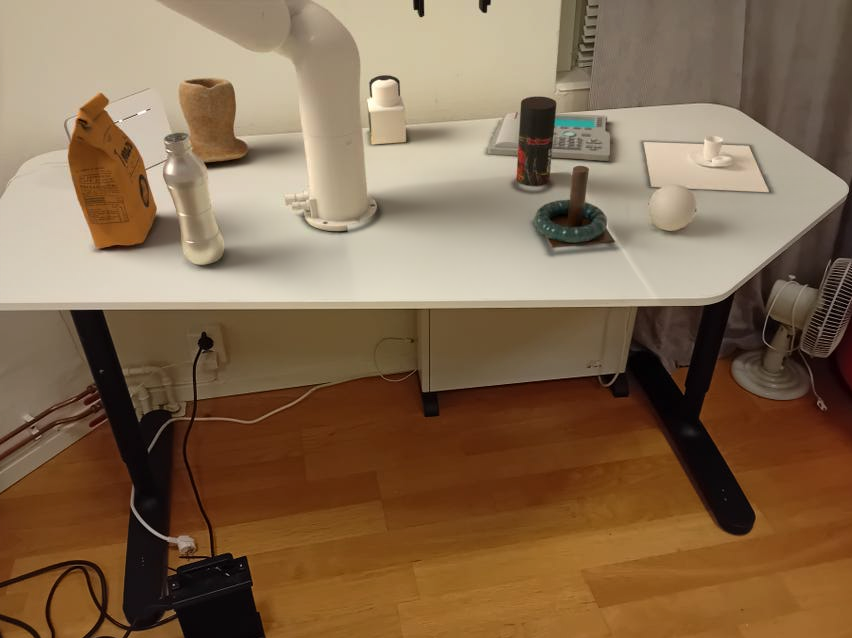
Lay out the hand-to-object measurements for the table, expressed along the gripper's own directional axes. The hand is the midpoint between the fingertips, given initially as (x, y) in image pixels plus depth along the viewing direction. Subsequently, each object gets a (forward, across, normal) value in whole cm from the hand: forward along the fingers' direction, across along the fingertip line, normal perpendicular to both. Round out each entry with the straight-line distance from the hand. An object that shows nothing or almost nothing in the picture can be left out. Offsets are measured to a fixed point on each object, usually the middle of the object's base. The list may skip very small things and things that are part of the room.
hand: (451, 12), depth 112 cm
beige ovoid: (+31, +33, -17) cm, 48 cm away
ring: (+28, +16, -18) cm, 37 cm away
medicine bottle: (+31, -9, +28) cm, 42 cm away
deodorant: (+31, +15, +1) cm, 34 cm away
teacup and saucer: (+31, +48, +3) cm, 57 cm away
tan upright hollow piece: (+31, -45, +25) cm, 60 cm away
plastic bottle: (+31, -42, -15) cm, 54 cm away
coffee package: (+31, -56, -4) cm, 64 cm away
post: (+30, +17, -18) cm, 39 cm away
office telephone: (+31, +24, +21) cm, 44 cm away
